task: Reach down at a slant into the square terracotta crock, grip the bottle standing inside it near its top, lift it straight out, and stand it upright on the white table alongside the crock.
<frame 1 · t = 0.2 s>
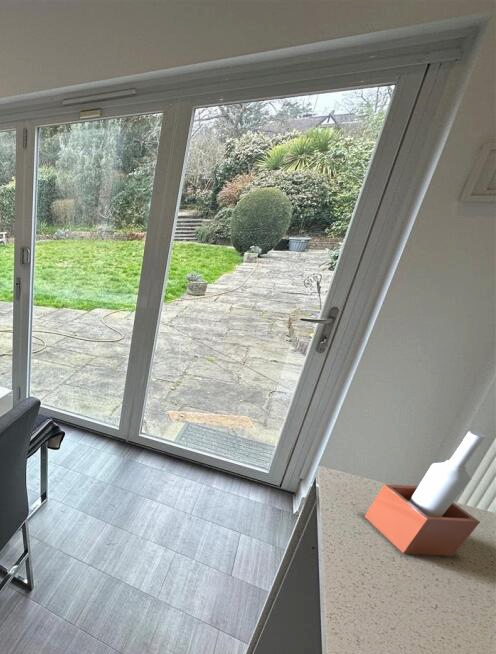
bottle: (406, 535, 84), resting in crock
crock: (406, 535, 83), on the countertop
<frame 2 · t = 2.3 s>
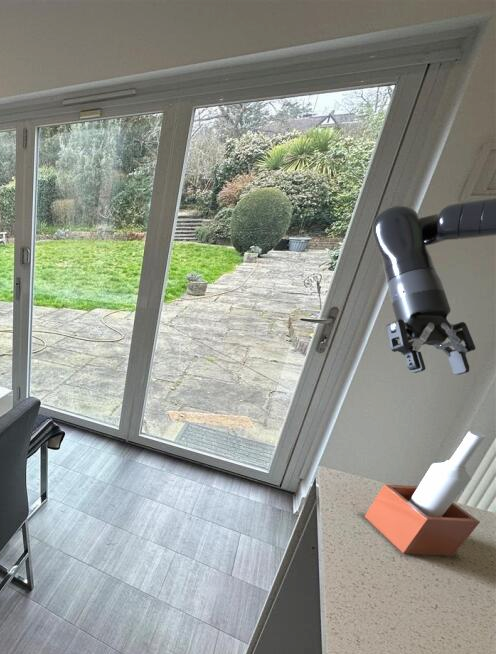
hand: (440, 372, 78), 32 cm above the countertop, tool tilted 45°, fingers open, 8 cm apart
nothing on the countertop moved.
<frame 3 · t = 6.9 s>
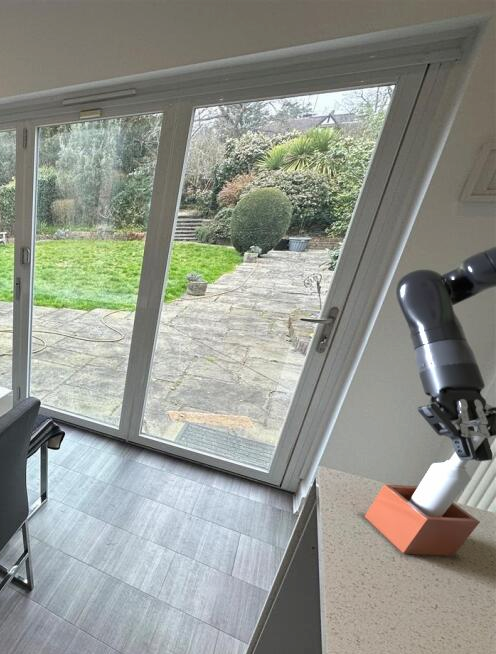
hand: (476, 459, 72), 21 cm above the countertop, tool tilted 45°, fingers closed on bottle, 2 cm apart
bottle: (406, 535, 84), resting in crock, touching gripper
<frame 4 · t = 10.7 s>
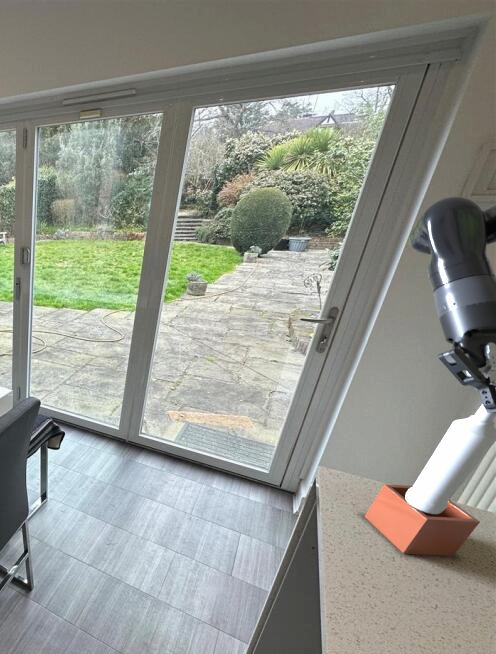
bottle: (422, 505, 74), point 12 cm above the countertop, touching gripper
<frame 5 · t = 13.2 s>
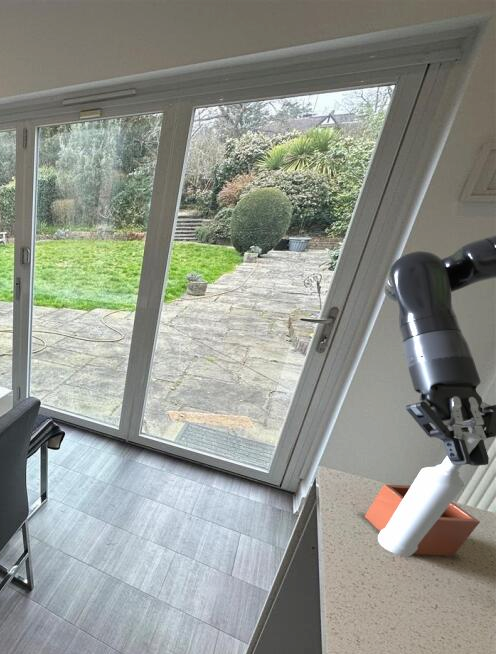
hand: (470, 464, 64), 25 cm above the countertop, tool tilted 45°, fingers closed on bottle
bottle: (393, 546, 76), point 4 cm above the countertop, touching gripper
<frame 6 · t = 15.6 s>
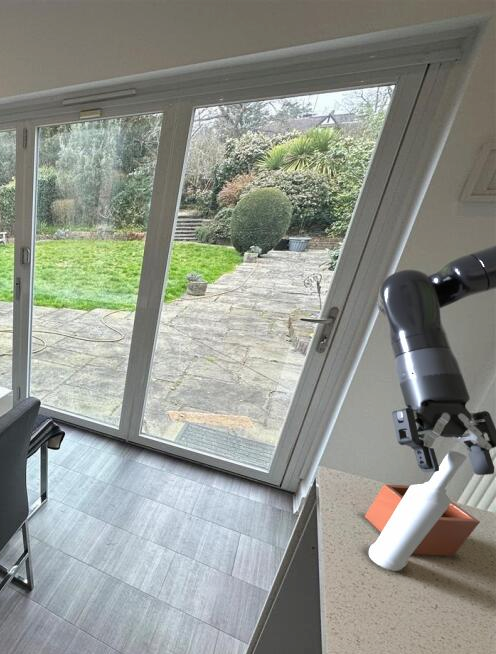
hand: (458, 473, 66), 22 cm above the countertop, tool tilted 45°, fingers open, 8 cm apart
bottle: (384, 561, 78), on the countertop
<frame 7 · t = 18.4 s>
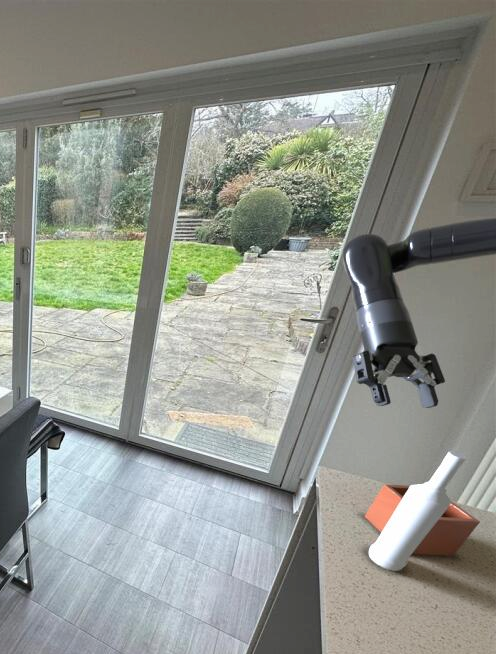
hand: (407, 406, 76), 27 cm above the countertop, tool tilted 45°, fingers open, 8 cm apart
nothing on the countertop moved.
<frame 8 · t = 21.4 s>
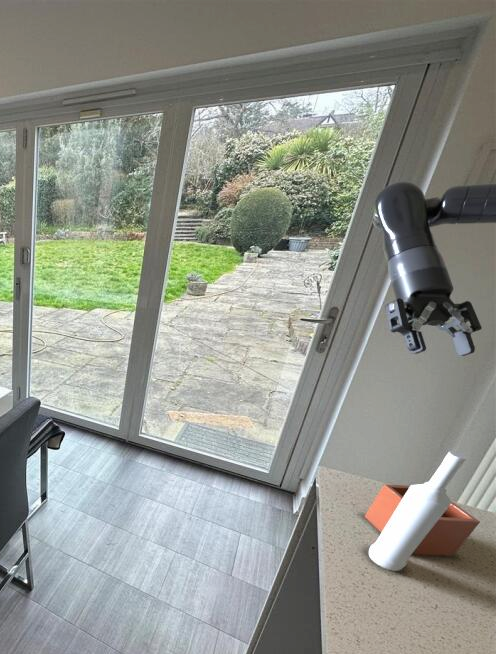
hand: (442, 353, 74), 37 cm above the countertop, tool tilted 45°, fingers open, 8 cm apart
nothing on the countertop moved.
at the end: bottle inside the target area (0.2 cm from its centre), on the countertop; bottle tilted 0°; the gripper is holding nothing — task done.
